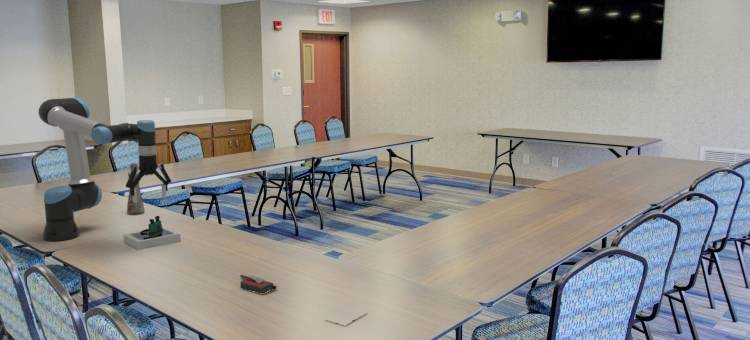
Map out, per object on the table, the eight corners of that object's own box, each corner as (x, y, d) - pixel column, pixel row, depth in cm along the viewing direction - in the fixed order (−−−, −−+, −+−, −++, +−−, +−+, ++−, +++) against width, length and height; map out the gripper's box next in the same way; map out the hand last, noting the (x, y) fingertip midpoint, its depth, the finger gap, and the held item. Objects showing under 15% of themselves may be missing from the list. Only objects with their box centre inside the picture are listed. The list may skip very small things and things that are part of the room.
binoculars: (145, 215, 281) (164, 215, 279) (148, 237, 282) (167, 236, 280) (133, 220, 272) (153, 219, 270) (137, 242, 274) (156, 242, 272)
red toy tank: (281, 289, 221) (242, 278, 232) (280, 277, 221) (242, 267, 232) (264, 296, 214) (225, 284, 225) (263, 284, 213) (225, 273, 224)
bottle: (141, 215, 324) (138, 164, 319) (124, 215, 324) (121, 164, 319) (147, 211, 333) (144, 161, 328) (131, 211, 333) (128, 161, 328)
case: (123, 241, 276) (123, 234, 276) (165, 233, 290) (165, 226, 289) (137, 249, 265) (137, 242, 264) (180, 240, 278) (180, 233, 278)
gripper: (122, 158, 259) (125, 205, 263) (177, 153, 276) (179, 197, 280) (116, 156, 265) (118, 202, 268) (170, 151, 281) (172, 195, 285)
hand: (149, 200), depth 274 cm, fingers open, 13 cm apart
